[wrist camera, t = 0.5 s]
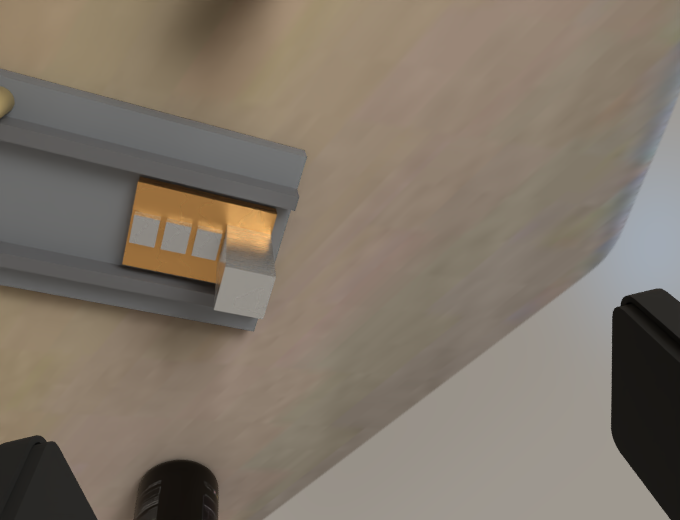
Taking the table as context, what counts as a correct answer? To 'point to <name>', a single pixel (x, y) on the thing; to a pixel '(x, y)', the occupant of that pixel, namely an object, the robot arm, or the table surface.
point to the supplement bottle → (178, 493)
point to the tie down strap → (205, 242)
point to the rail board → (117, 193)
